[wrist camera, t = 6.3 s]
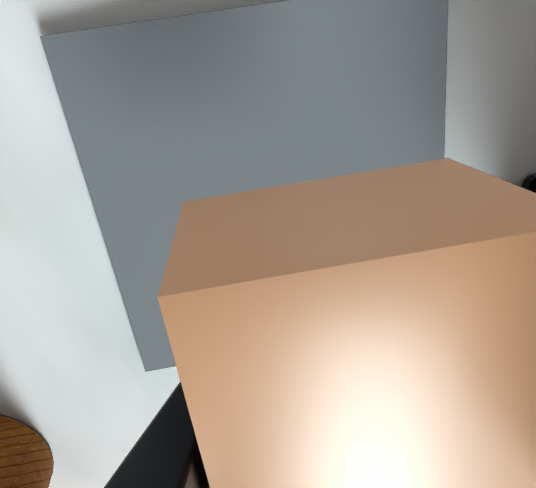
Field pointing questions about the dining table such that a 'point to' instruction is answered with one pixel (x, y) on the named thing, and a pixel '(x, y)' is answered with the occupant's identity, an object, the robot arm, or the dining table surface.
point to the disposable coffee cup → (23, 456)
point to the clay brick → (359, 330)
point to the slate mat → (240, 115)
